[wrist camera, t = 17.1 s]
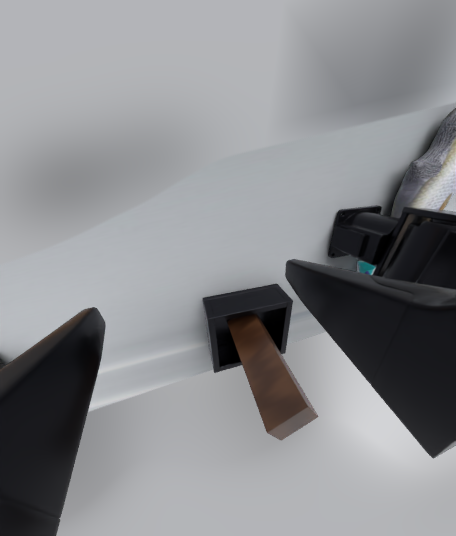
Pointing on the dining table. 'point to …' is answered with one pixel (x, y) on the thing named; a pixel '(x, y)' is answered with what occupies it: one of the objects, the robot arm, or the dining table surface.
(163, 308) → the dining table surface
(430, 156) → the fish
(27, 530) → the robot arm
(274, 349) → the walnut post
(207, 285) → the dining table surface
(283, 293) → the cradle
